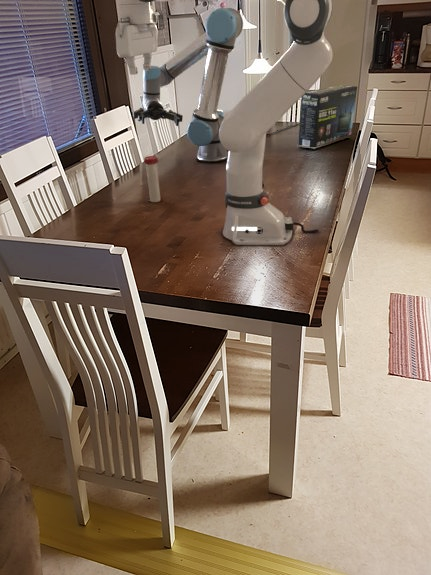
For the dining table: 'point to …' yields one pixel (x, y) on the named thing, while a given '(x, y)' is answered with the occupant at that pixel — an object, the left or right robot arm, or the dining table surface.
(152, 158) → the lid
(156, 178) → the white cylinder
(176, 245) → the dining table surface
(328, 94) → the router box
